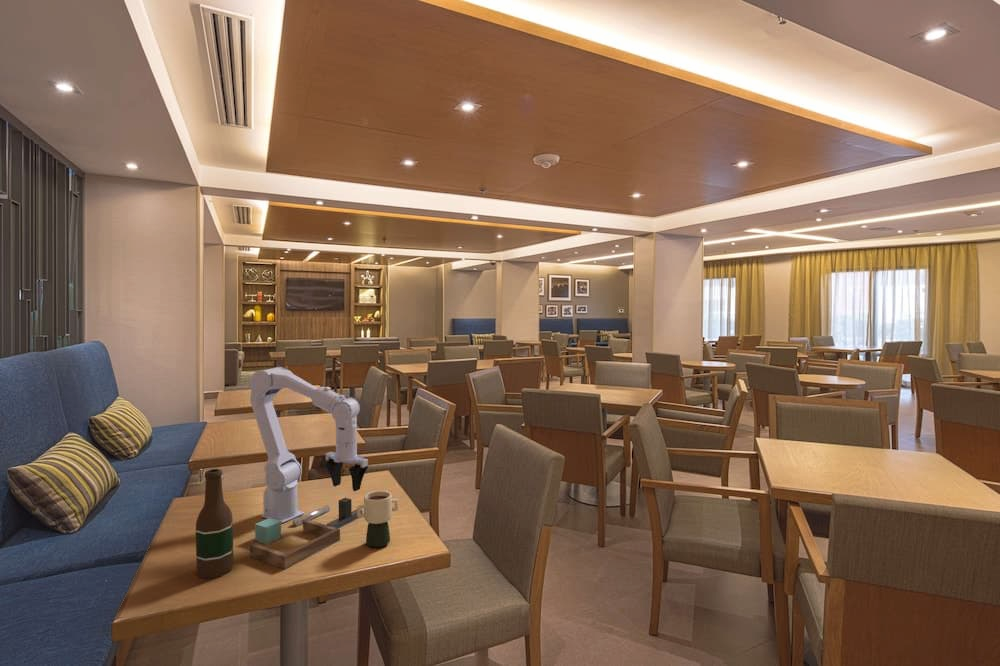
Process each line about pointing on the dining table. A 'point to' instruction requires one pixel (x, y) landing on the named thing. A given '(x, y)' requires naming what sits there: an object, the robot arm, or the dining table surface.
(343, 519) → the dark grey bar
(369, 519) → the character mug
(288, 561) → the wooden u-shaped frame
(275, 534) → the teal block
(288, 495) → the robot arm
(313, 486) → the dining table surface
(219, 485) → the beer bottle
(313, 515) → the steel rod
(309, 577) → the dining table surface
